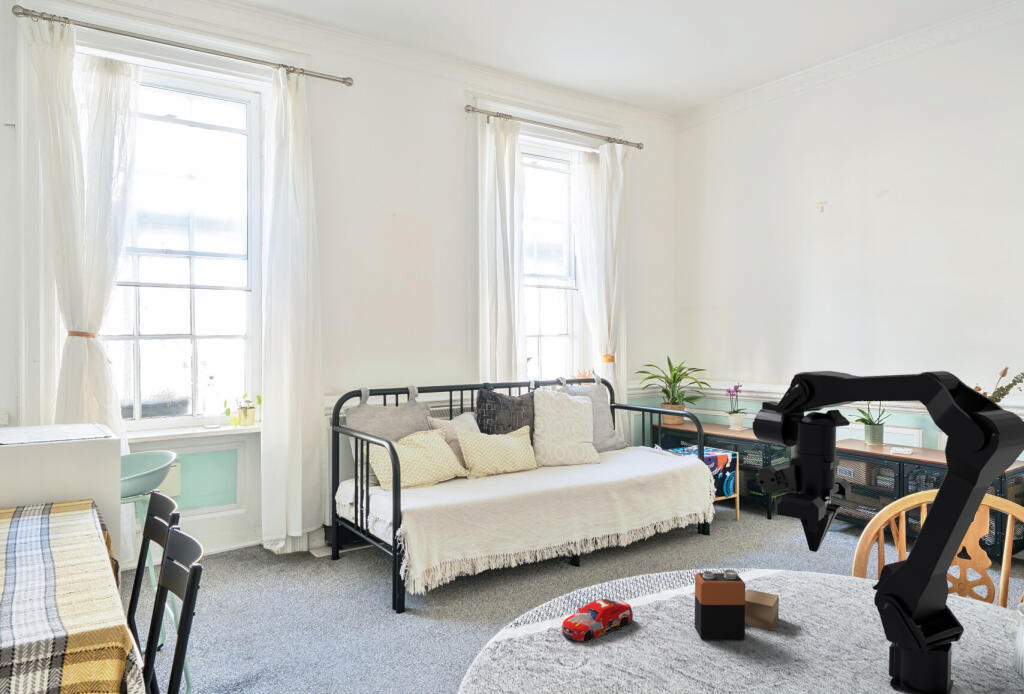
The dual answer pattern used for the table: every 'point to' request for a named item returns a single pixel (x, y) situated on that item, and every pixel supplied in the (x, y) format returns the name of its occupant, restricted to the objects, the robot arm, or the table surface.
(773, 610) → the walnut block
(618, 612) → the race car
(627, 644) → the table surface
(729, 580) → the battery
